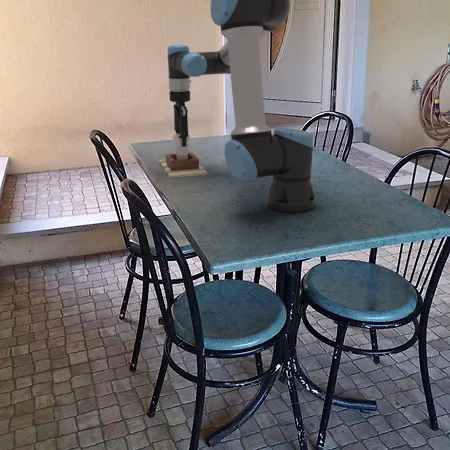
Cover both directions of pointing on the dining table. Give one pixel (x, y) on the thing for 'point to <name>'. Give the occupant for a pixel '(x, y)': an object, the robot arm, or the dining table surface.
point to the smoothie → (177, 147)
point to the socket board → (182, 166)
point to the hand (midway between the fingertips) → (181, 152)
